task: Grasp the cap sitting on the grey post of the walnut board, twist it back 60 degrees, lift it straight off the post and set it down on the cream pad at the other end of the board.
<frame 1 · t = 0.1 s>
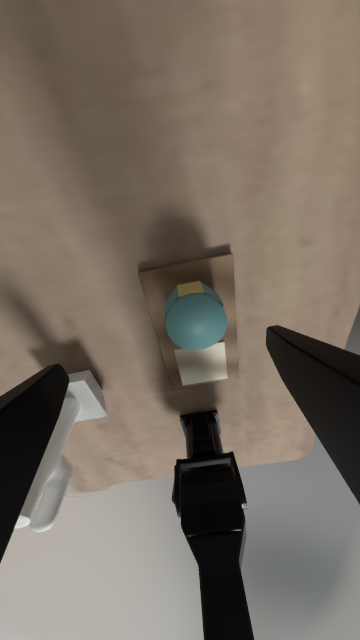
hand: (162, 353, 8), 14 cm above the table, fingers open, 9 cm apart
board: (196, 331, 25), on the table
cap: (192, 307, 21), point 2 cm above the table, touching board
figurine: (82, 382, 29), on the table
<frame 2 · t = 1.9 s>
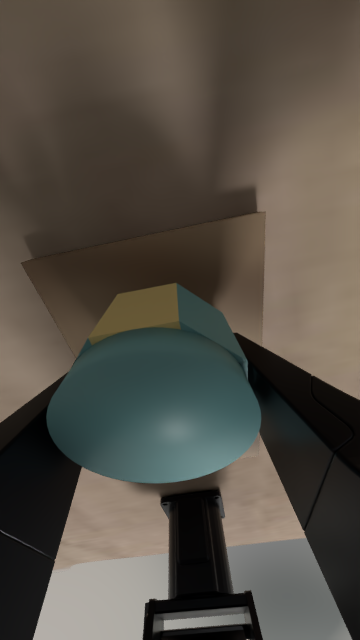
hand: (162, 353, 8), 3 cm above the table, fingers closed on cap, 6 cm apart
board: (179, 382, 13), on the table
cap: (163, 346, 9), point 2 cm above the table, touching board, gripper
when the fingers open (3 cm above the table, at t = 7.7 s): cap drops 1 cm, resting on board.
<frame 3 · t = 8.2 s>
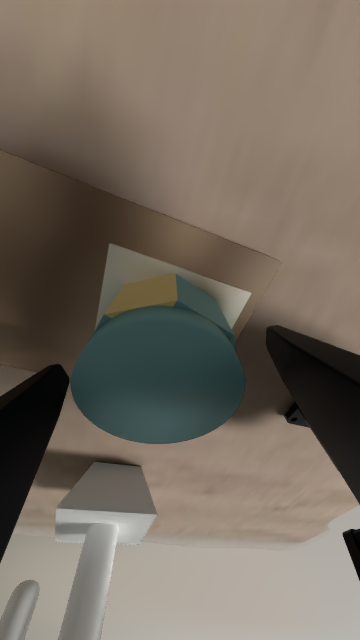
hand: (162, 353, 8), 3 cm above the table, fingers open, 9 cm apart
board: (69, 295, 10), on the table
cap: (164, 331, 10), point 1 cm above the table, touching board
figurine: (115, 473, 19), on the table
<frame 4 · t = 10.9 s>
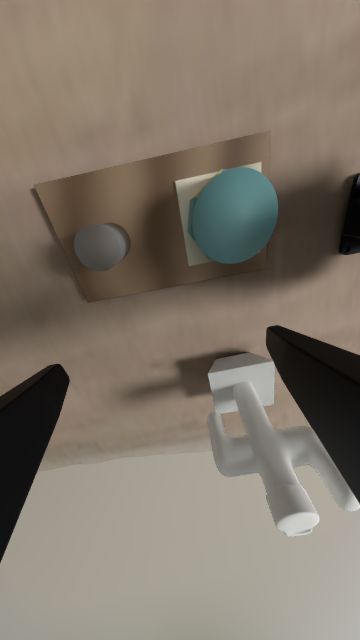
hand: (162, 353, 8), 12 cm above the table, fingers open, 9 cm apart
board: (163, 230, 17), on the table
cap: (221, 219, 16), point 1 cm above the table, touching board
figurine: (233, 367, 26), on the table
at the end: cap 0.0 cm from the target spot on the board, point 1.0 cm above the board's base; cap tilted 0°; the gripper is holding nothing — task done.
